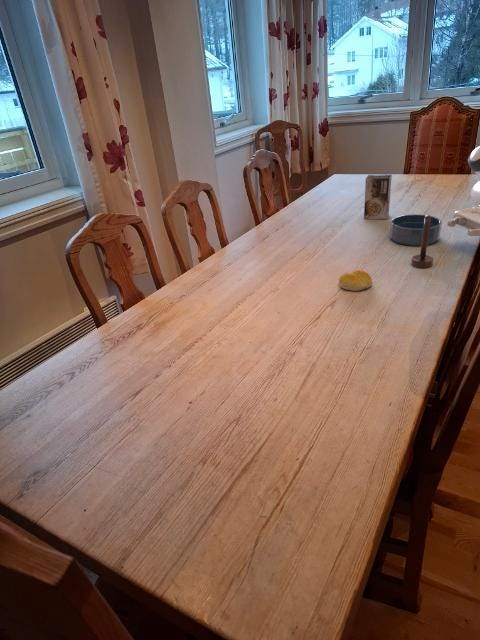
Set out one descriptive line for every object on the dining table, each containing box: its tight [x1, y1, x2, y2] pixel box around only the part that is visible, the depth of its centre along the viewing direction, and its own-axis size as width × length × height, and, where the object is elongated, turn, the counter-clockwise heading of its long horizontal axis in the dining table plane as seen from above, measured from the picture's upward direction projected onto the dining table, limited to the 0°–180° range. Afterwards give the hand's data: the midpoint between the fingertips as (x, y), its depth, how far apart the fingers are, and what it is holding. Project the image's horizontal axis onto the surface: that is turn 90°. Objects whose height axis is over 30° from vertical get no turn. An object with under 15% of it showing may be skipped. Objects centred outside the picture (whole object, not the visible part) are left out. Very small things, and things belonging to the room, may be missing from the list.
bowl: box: [389, 214, 443, 247], centre depth 148 cm, size 16×16×6 cm
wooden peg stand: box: [410, 214, 434, 269], centre depth 127 cm, size 6×6×15 cm
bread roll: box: [338, 269, 373, 292], centre depth 121 cm, size 8×9×4 cm
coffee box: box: [363, 173, 393, 220], centre depth 170 cm, size 9×6×16 cm
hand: (458, 228), depth 128 cm, fingers open, 8 cm apart
